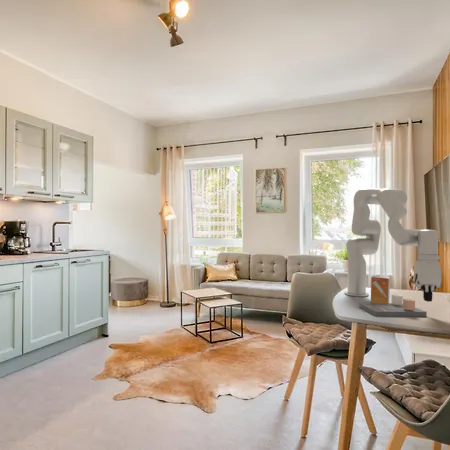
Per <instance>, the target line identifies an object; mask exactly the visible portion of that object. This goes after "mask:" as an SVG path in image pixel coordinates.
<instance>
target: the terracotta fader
mask: <svg viewBox="0 0 450 450" xmlns="http://www.w3.org/2000/svg"><path fill="white" fill-rule="evenodd" d="M402 304H403V308H404V309H406V310H415V307H416V300H414V299H410V298H403V302H402Z"/></svg>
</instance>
